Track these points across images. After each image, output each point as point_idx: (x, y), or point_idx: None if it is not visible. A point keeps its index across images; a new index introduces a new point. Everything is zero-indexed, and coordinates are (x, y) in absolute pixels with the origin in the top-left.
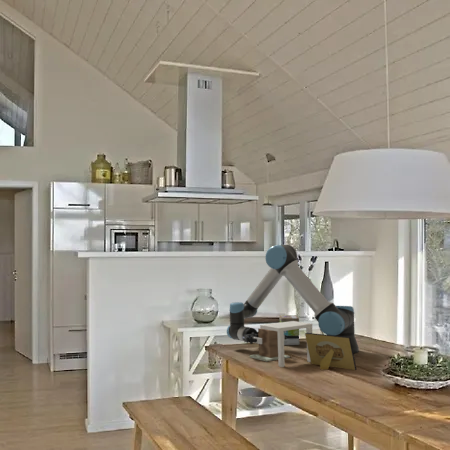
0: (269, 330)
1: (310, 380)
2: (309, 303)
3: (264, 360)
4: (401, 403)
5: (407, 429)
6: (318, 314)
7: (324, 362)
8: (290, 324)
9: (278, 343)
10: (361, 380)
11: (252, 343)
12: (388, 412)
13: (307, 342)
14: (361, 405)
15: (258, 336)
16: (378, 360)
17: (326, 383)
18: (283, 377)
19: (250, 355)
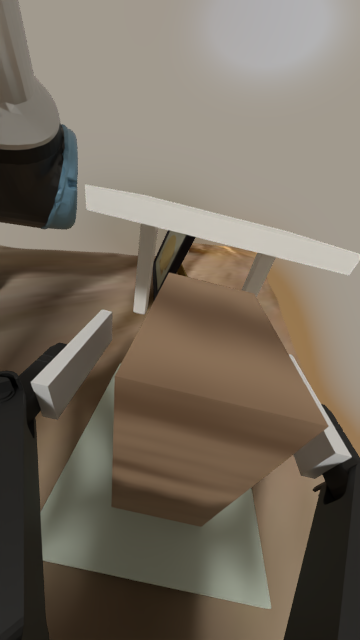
0: (246, 294)
1: (242, 285)
2: (1, 2)
3: None
4: (224, 252)
5: (253, 253)
6: (58, 135)
7: (183, 274)
8: (205, 211)
9: (262, 281)
10: (196, 262)
11: (317, 486)
12: (243, 255)
13: (185, 255)
14: (249, 261)
15: (264, 473)
16: (66, 254)
17: (234, 275)
18: (268, 305)
19: (262, 598)
